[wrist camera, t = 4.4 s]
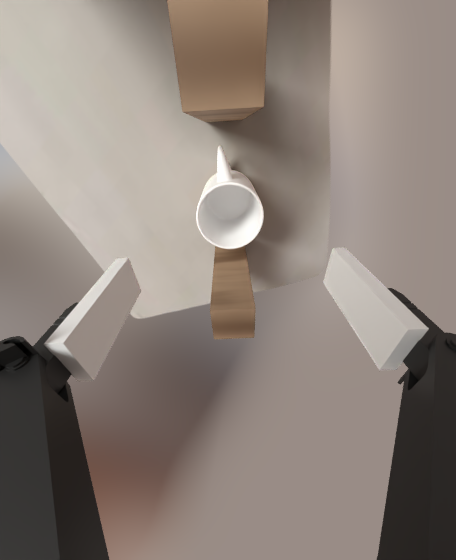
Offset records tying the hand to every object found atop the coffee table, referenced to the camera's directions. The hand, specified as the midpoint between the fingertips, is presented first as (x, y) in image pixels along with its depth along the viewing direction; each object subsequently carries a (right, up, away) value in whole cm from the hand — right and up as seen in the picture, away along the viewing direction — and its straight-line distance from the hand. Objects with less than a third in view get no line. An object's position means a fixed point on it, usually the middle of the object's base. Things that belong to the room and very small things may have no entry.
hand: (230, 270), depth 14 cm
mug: (0, +15, +20) cm, 25 cm away
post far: (0, +6, +27) cm, 27 cm away
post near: (-1, +24, +14) cm, 27 cm away
